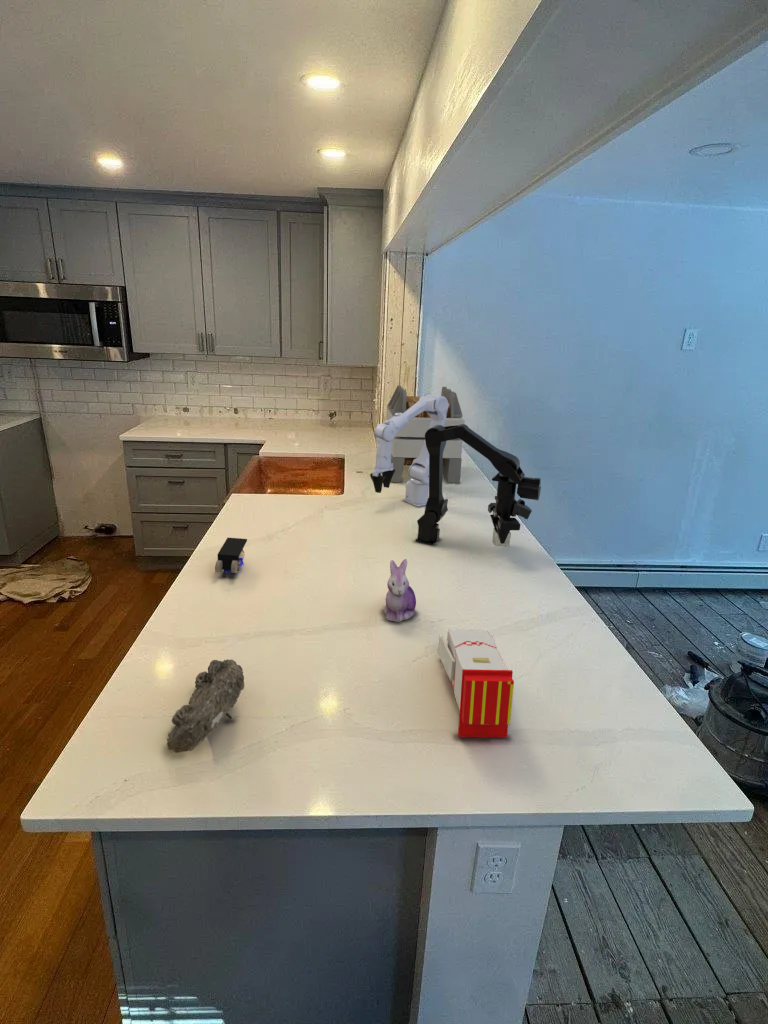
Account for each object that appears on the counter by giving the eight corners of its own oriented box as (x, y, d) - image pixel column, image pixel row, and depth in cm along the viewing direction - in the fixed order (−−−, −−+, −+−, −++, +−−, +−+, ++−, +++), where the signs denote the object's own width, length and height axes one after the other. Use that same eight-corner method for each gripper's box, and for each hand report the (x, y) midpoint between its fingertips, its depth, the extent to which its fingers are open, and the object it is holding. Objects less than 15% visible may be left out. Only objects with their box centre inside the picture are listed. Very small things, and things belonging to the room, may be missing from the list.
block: (495, 546, 183) (496, 532, 182) (492, 541, 187) (493, 528, 186) (509, 546, 184) (511, 533, 182) (506, 541, 188) (507, 528, 186)
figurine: (392, 627, 141) (395, 572, 136) (374, 608, 149) (376, 556, 144) (425, 619, 145) (429, 566, 140) (405, 601, 154) (408, 550, 149)
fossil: (192, 660, 117) (244, 628, 112) (224, 691, 120) (276, 661, 115) (142, 746, 98) (202, 712, 93) (182, 779, 101) (242, 748, 96)
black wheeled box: (238, 584, 162) (249, 557, 175) (236, 562, 158) (247, 536, 172) (215, 584, 161) (227, 556, 175) (212, 561, 158) (225, 535, 171)
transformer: (382, 463, 289) (386, 382, 275) (445, 464, 293) (451, 384, 279) (390, 482, 257) (394, 392, 243) (460, 483, 261) (468, 394, 247)
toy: (488, 613, 130) (523, 677, 101) (484, 667, 133) (517, 744, 104) (435, 612, 130) (455, 676, 101) (432, 666, 133) (451, 743, 103)
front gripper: (539, 505, 172) (533, 552, 177) (522, 487, 189) (517, 530, 194) (503, 504, 171) (498, 552, 176) (489, 486, 188) (485, 530, 194)
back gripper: (385, 461, 207) (383, 496, 212) (400, 453, 220) (399, 486, 224) (368, 458, 210) (366, 493, 215) (384, 450, 222) (382, 483, 227)
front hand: (500, 540), depth 185 cm, fingers closed on block, 4 cm apart
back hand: (382, 489), depth 220 cm, fingers open, 7 cm apart
